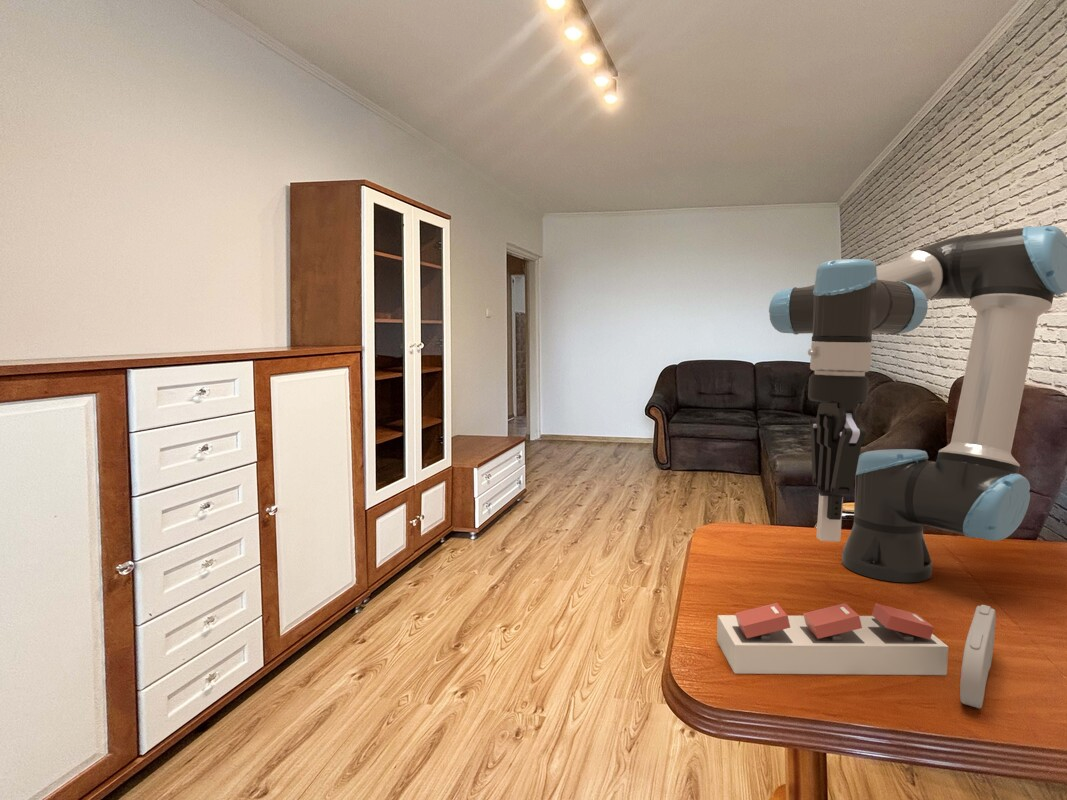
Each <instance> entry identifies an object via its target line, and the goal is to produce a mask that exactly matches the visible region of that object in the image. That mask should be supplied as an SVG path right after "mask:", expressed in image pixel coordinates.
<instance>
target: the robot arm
mask: <svg viewBox="0 0 1067 800" xmlns="http://www.w3.org/2000/svg"><path fill="white" fill-rule="evenodd" d="M815 272H816V273H815V279H814V284H813V285H809V286H802V287H795V286H793V287H791V288H784V289H781V290H778V291H777V292H776V293H775V294H774V295H773V296H772V298H771V300H770V302H769V307H768V313H769V320H770V323H771V325H772V327H773V328H774V329H775V330H776V331H777V332H779V333H782V334H793V335H799V334H812V336H811V348H809V349H808V350H807V354H808V356H810V364H809V369H810V370H811V371H814V374H810V376H808V389H807V391H808V392H807V398H808V399H809V401H812V402H817V403H818V408H817V414H816V416H815V418H814V417H813V418H812V417H811V418H809V421H808V423H809V425H808V426H809V431H810V441H811V446H810V447H811V467H812V468H811V469H812V471H811V472H812V473H811V477H812V484H813V485H815V486H816V485H817V486H816V489H817V491H818V508H817V521H816V522H817V524H816V537H815V538H816V539H818V540H819V541H820V542H821V541H822V542H841V534H842V521H843V519H842V517H843V505H844V497H846V496H851V495H852V494H853V491H854V507H853V508H854V509H853V510H854V512H853V525H852V528H851V530H850V533H849V535H848V536H847V540H846V542H845V545H844V546H843V548H842V554H841V555H842V556H841V563H842V565H843V566H844V567H845V568H847V570H850V571H852V572H853V573H856V574H858V575H861V576H865V577H867V578H872V579H876V580H879V581H880V580H881V581H886V582H894V583H920V582H925V581H928V580H929V579H931V577H932V575H933V562H932V560H931V559H932V558H931V555H930V553H929V549H928V546H927V543H926V540H925V536H924V526H927V527H931V528H935V529H938V530H943V531H947V532H951V533H955V534H960V535H963V536H966V537H968V538H971V539H974V538H975V539H981V540H986V541H991V542H993V541H994V542H996V541H997V542H998V541H1001V540H1004V539H1006V538H1008V537H1010V536H1011V535H1012V534H1014V532H1015V531H1016V530H1017V529H1018V527H1019V526H1020V525H1021V524H1022V522H1023V520H1024V518H1025V516H1026V514H1027V511H1028V509H1029V508H1028V507H1029V504H1030V499H1031V492H1030V490H1031V485H1030V481H1029V480H1028V478H1027V477H1025V476H1023V475H1022V474H1020V473H1019V471H1020V466H1021V464H1020V463H1019V462H1018V461H1017V460H1016V459H1015V457H1014V456H1013V455H1012V448H1013V443H1014V438H1015V435H1016V434H1015V433H1016V429H1017V424H1018V418H1019V414H1020V408H1021V403H1022V399H1023V395H1024V394H1023V393H1024V389H1025V384H1026V379H1027V374H1028V368H1029V364H1030V358H1031V353H1032V347H1033V344H1034V338H1035V333H1036V329H1037V323H1038V319H1039V317H1040V316H1042V315H1043V314H1045V313H1046V312H1048V311H1050V310H1051V309H1052V308H1053V307H1052V306H1053V301H1054V297H1055V296H1062V295H1064V294H1066V293H1067V235H1066V233H1065V232H1064V231H1063V230H1062V229H1061V228H1059V227H1057V226H1055V225H1039V226H1029V225H1027V226H1024V227H1020V228H1013V229H1006V230H997V231H996V230H995V231H990V232H989V231H988V232H983V233H982V232H981V233H975V234H965V235H959V236H954V237H951V238H946V239H944V240H941V241H937V242H935V243H931V244H929V245H926V246H925V245H924V246H923V247H919V248H916V249H914V250H910V251H907V252H904V253H903V254H901V255H899V256H898V257H897V258H896V259H895V260H894V261H893V262H892V261H891V262H888V263H885V264H882V265H879V266H877V265H876V264H875V262H874V261H872V260H871V259H866V258H865V259H863V258H862V259H861V258H847V259H846V258H844V259H833V260H828V261H825V262H822V263H821V264H819V265H818V266H817V269H816V271H815ZM937 299H938V300H939V299H940V300H944V299H946V300H948V299H950V300H951V299H952V300H953V299H954V300H955V299H957V300H958V299H959V300H962V299H968V300H969V301H968V305H969V306H971V308H972V309H973V310H974V311H975V312H976V317H975V321H974V326H973V332H972V335H971V336H972V337H971V341H970V346H969V347H970V348H969V351H968V356H967V361H966V366H965V372H964V375H963V376H964V377H963V381H962V385H961V391H960V394H959V395H960V396H959V401H958V405H957V411H956V416H955V420H954V425H953V430H952V435H951V439H950V443H948V445H946V446H945V447H943V448H940V449H939V450H938V452H937V457H936V461H933V460H928V459H929V455H928V452H927V451H926V450H921V449H907V448H902V449H901V448H899V449H897V448H896V449H895V448H894V449H892V448H891V449H890V448H889V449H877V450H876V449H875V450H869V451H868V450H867V451H865V452H862V453H861V448H862V444H863V442H864V440H865V438H866V435H867V433H866V429H865V428H858V425H857V417H858V416H857V412H856V405H858V404H859V405H860V404H864V403H867V401H868V398H869V389H870V388H869V385H870V384H869V383H870V379H869V377H868V376H866V373H868V372H870V371H871V363H872V362H871V361H872V349H873V343H872V339H873V338H872V337H873V334H886V335H899V334H905V333H909V332H911V331H914V330H915V329H917V328H918V327H919V326H921V324H922V323H923V322H924V320H925V319H926V316H927V313H928V309H929V305H928V304H929V303H928V300H937ZM854 486H855V487H854Z"/></svg>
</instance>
